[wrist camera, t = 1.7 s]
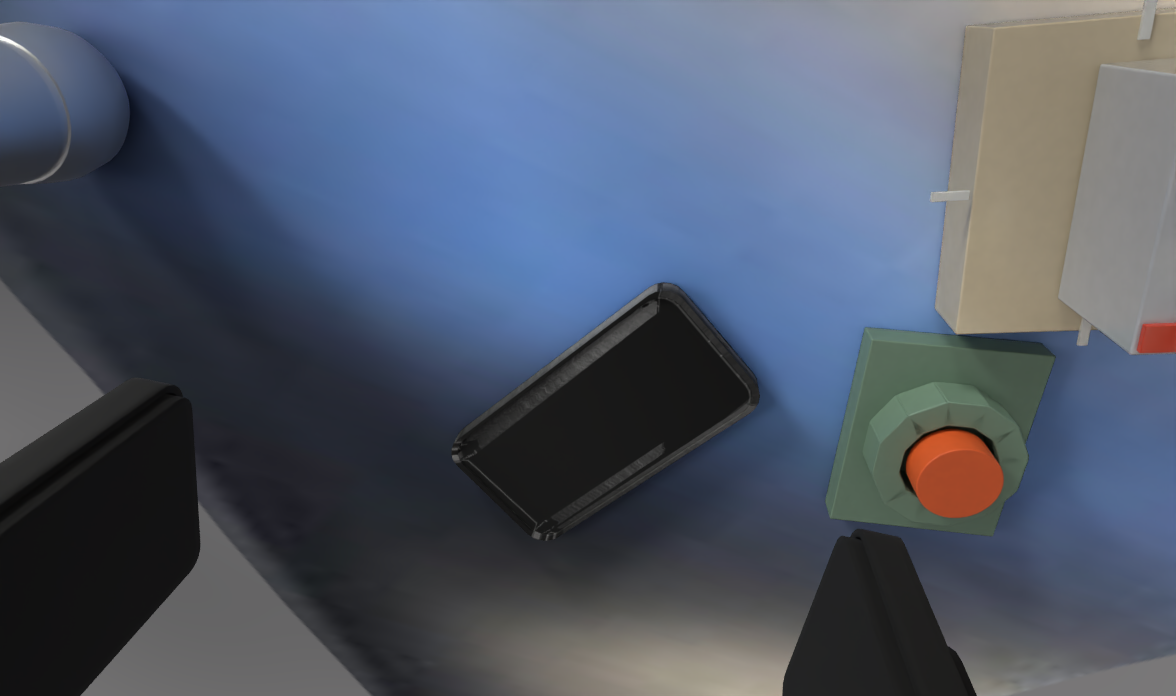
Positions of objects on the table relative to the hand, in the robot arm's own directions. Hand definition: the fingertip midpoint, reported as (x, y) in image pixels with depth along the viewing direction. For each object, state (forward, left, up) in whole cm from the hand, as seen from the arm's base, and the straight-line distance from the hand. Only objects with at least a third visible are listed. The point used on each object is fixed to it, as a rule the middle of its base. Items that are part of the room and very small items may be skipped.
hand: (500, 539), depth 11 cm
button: (+11, +16, -22) cm, 29 cm away
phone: (+12, 0, -25) cm, 28 cm away
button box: (+11, +16, -25) cm, 32 cm away
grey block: (-2, +19, -22) cm, 29 cm away
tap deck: (-2, +19, -25) cm, 31 cm away
